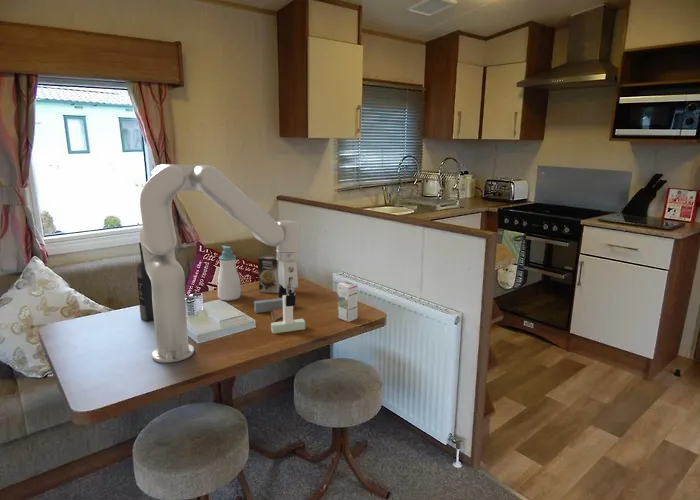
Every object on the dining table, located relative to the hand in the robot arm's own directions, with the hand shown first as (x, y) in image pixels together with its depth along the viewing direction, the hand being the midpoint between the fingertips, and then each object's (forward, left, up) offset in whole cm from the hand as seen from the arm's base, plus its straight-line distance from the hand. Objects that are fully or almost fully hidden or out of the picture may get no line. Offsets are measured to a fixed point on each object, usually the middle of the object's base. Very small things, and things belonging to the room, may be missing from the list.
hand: (286, 301), depth 164 cm
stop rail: (+23, -1, -11) cm, 25 cm away
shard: (+15, -2, -12) cm, 19 cm away
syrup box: (+2, -25, -11) cm, 27 cm away
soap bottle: (+44, +14, -11) cm, 48 cm away
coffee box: (+47, -5, -11) cm, 49 cm away
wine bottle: (+30, +46, -11) cm, 56 cm away
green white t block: (0, 0, -11) cm, 11 cm away
